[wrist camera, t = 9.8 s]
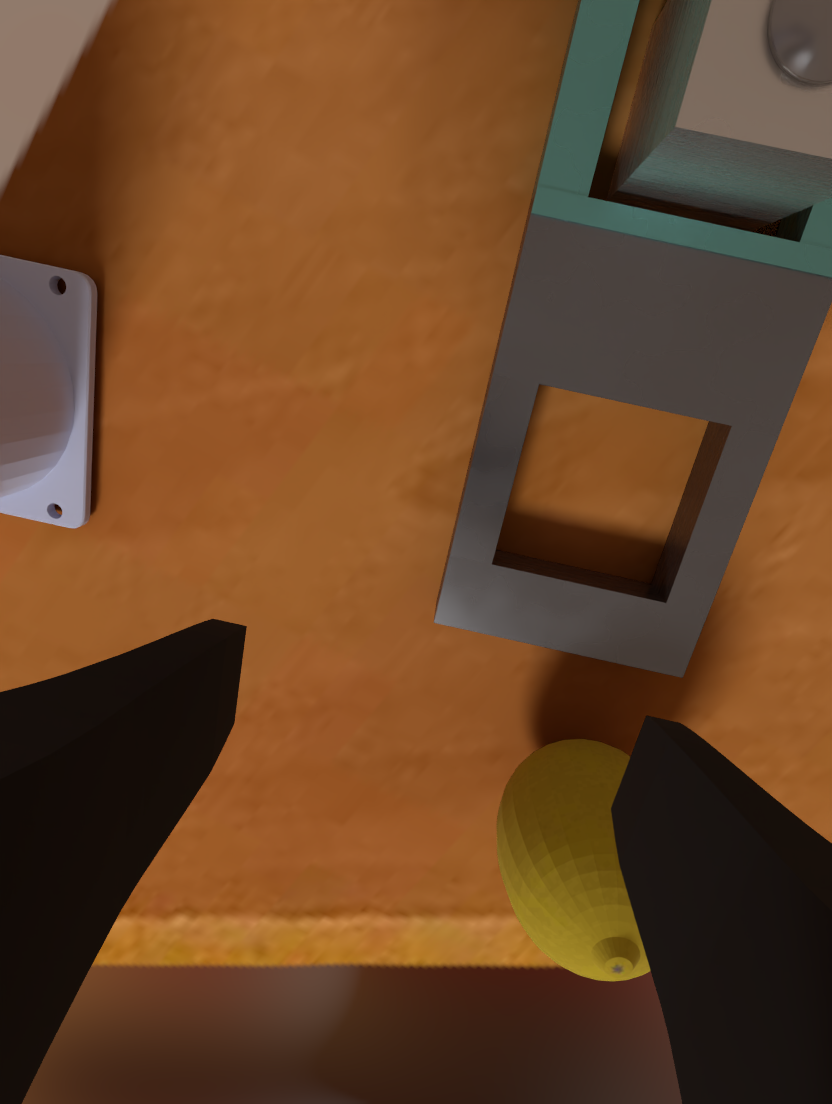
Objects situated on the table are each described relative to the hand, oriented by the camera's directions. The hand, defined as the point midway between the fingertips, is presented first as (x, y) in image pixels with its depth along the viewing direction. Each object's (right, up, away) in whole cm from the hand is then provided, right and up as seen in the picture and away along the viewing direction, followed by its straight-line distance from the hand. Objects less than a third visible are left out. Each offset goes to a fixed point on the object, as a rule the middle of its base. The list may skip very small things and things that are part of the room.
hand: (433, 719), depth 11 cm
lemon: (+5, -5, +12) cm, 14 cm away
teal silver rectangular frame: (+6, +10, +7) cm, 13 cm away
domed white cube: (+7, +14, +5) cm, 17 cm away
